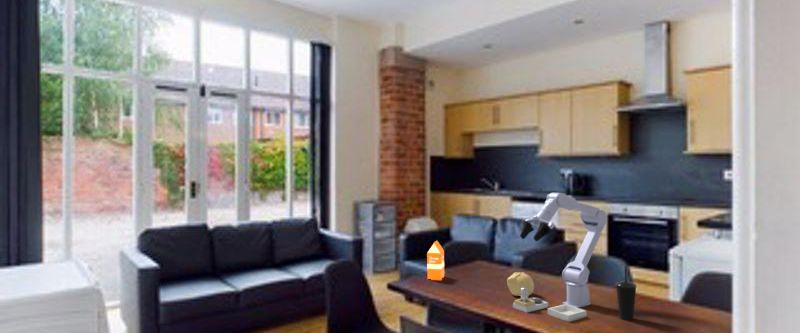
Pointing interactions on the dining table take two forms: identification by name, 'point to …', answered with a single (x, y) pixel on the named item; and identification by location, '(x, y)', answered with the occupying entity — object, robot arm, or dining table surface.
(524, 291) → the lock pin
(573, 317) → the tray
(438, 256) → the orange juice
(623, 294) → the drinking cup
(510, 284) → the sculpture
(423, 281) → the dining table surface
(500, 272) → the dining table surface
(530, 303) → the white flat block
